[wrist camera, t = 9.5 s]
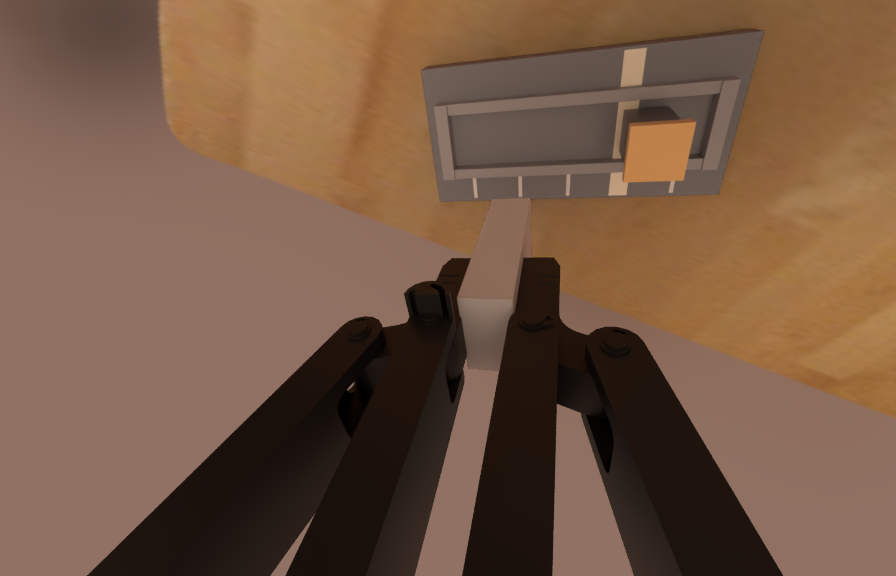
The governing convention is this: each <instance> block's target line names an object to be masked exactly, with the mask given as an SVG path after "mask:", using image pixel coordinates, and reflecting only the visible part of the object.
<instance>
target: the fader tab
mask: <svg viewBox="0 0 896 576" xmlns="http://www.w3.org/2000/svg"><path fill="white" fill-rule="evenodd" d="M695 126H696V121H695V120H694V119H681V118H680V117H679V116H678V115H677V114H676V113H675V112H674V111H673V110H672V109H671V108H670V107H669V106H666V107H653V108H640V109H627V110H624V114H623V122H622V130H621V139H620V147H619V152H620V155H621V158H622V161H623V163H624V167H623V174H622V180H623V183H626V182H656V181H683V180H684V176H685V171H686V167H687V162H688V158H689V153H690V149H691V144H692V140H693V135H694V131H695Z"/></svg>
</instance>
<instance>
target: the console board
mask: <svg viewBox="0 0 896 576" xmlns="http://www.w3.org/2000/svg"><path fill="white" fill-rule="evenodd" d="M763 34H764V31H763V30H757V29H745V30H736V31H728V32H719V33H711V34H702V35H693V36H685V37H676V38H668V39H659V40H650V41H642V42H633V43H625V44H616V45H608V46H599V47H590V48H582V49H573V50H565V51H556V52H547V53H539V54H530V55H522V56H513V57H505V58H496V59H487V60H479V61H470V62H462V63H453V64H444V65H436V66H428V67H426V68H424V69H422V70H421V74H422V81H423V88H424V95H425V102H426V109H427V116H428V123H429V130H430V137H431V144H432V151H433V158H434V164H435V171H436V178H437V185H438V192H439V199H440V202H447V201H487V200H492V199H515V198H530V199H567V198H607V197H646V196H686V195H719V191H720V188H721V184H722V180H723V177H724V173H725V170H726V166H727V163H728V159H729V155H730V152H731V148H732V145H733V141H734V137H735V134H736V130H737V127H738V123H739V120H740V116H741V112H742V109H743V105H744V102H745V98H746V94H747V91H748V87H749V84H750V80H751V77H752V73H753V69H754V66H755V62H756V59H757V55H758V51H759V48H760V44H761V41H762V37H763ZM666 106H669V107H670V108H671V109H672V110H673V111H674V112H675V113H676V114H677V115H678V116H679V117H680V118H681V119H694V120H695V121H696V126H695V131H694V135H693V140H692V144H691V149H690V153H689V158H688V162H687V167H686V171H685V176H684V180H683V181H656V182H626V183H623V180H622V174H623V167H624V163H623V161H622V158H621V155H620V152H619V147H620V139H621V130H622V122H623V114H624V110H627V109H640V108H653V107H666Z"/></svg>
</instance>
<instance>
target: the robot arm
mask: <svg viewBox="0 0 896 576" xmlns="http://www.w3.org/2000/svg"><path fill="white" fill-rule="evenodd" d="M559 293H560V265H559V264H558V263H557V261H556V260H555V259H554V258H532V246H531V201H530V198H515V199H492V201H491V204H490V207H489V210H488V213H487V215H486V218H485V221H484V224H483V227H482V229H481V232H480V235H479V238H478V240H477V243H476V246H475V249H474V252H473V254H472V257H471V258H452V259H451V260H450V261H448V262H447V263H446V264H445V265H443V267H442V269H441V271H440V274H439V277H438V278H437V280H436V281H426V282H421V283H418V284H415V285H414V286H412V287H410V288H409V289H408V290H407V291H406V292H405V293H404V296H405V300H406V304H407V308H408V312H409V316H410V317H409V319H408V321H407V322H406V323H404V324H400V325H395V326H389V327H384V328H383V327H382V324H381V323H380V321H379V320H378V319H376V318H374V317H366V316H365V317H359V318H355V319H353V320H351V321H348V322H347V323H346V324H344V325H343V326H342V327H340V329H338V330H337V331H336V333H334V334H333V335H332V336H331V337H330V338H329V339H328V340H327V341H326V342H325V343H324V344H323V345H322V346H321V347H320V348H319V349H318V350H317V351H316V352H315V353H314V354H313V355H312V356H311V357H310V358H309V359H308V360H307V361H306V362H305V363H304V364H303V365H302V366H301V367H300V368H299V369H298V370H297V371H296V372H295V373H294V374H293V375H291V377H289V378H288V379H287V380H286V381H285V382H284V383H283V384H282V385H281V386H280V387H279V388H278V389H277V390H276V391H275V392H274V393H273V394H272V395H271V396H270V397H269V398H268V399H267V400H266V401H265V402H264V403H263V404H262V405H261V406H260V407H259V408H258V409H257V410H256V411H255V412H254V413H253V414H252V415H251V416H250V417H249V418H248V419H247V420H246V421H244V423H243V424H241V425H240V426H239V428H237V429H236V430H235V431H234V432H233V433H232V434H231V435H230V436H229V437H228V438H227V439H226V440H225V441H224V442H223V443H222V444H221V445H220V446H219V447H218V448H217V449H216V450H215V451H214V452H213V453H212V454H211V455H210V456H209V457H208V458H207V459H206V460H205V461H204V462H203V463H202V464H201V465H200V466H199V467H198V468H197V469H196V470H194V471H193V473H192V474H190V475H189V476H188V477H187V478H186V479H185V480H184V481H183V482H182V483H181V484H180V485H179V486H178V487H177V488H176V489H175V490H174V491H173V492H172V493H171V494H170V495H169V496H168V497H167V498H166V499H165V500H164V501H163V502H162V503H161V504H160V505H159V506H158V507H157V508H156V509H155V510H154V511H153V512H152V513H151V514H150V515H149V516H148V517H147V518H145V519H144V521H142V523H140V524H139V525H138V526H137V527H136V528H135V529H134V530H133V531H132V532H131V533H130V534H129V535H128V536H127V537H126V538H125V539H124V540H123V541H122V542H121V543H120V544H119V545H118V546H117V547H116V548H115V549H114V550H113V551H112V552H111V553H110V554H109V555H108V556H107V557H106V558H105V559H104V560H103V561H102V562H101V563H100V564H99V565H98V566H97V567H95V568H94V569H93V571H92V572H91V573H89V574H88V575H87V576H270V575H271V574H272V572H273V571H274V570H275V568H276V567H277V565H278V564H279V563H280V561H281V560H282V558H283V557H284V556H285V554H286V553H287V552H288V550H289V549H290V547H291V546H292V544H293V543H294V542H295V540H296V539H297V538H298V536H299V535H300V533H301V532H302V531H303V529H304V528H305V526H306V525H307V524H308V522H309V521H310V520H311V518H312V517H313V515H314V514H315V515H314V517H313V519H312V522H311V524H310V526H309V528H308V530H307V532H306V534H305V536H304V538H303V540H302V543H301V544H300V546H299V549H298V551H297V553H296V555H295V557H294V559H293V561H292V563H291V565H290V568H289V570H288V572H287V574H286V576H415V572H416V568H417V564H418V560H419V556H420V552H421V549H422V544H423V541H424V537H425V533H426V529H427V525H428V521H429V517H430V514H431V510H432V506H433V502H434V498H435V494H436V490H437V486H438V483H439V479H440V475H441V471H442V467H443V463H444V459H445V456H446V451H447V448H448V444H449V440H450V436H451V432H452V428H453V424H454V420H455V417H456V413H457V409H458V405H459V401H460V397H461V393H462V390H463V386H464V371H463V367H464V363H465V359H467V366H468V369H479V370H491V371H499V375H498V381H497V386H496V392H495V398H494V403H493V408H492V414H491V419H490V425H489V431H488V436H487V442H486V447H485V453H484V458H483V464H482V470H481V475H480V480H479V486H478V492H477V497H476V502H475V508H474V513H473V519H472V525H471V530H470V536H469V541H468V547H467V553H466V558H465V563H464V569H463V574H462V576H552V566H553V529H554V489H555V452H556V413H557V404H560V405H562V406H565V407H567V408H570V409H572V410H575V411H577V412H580V413H581V416H582V419H583V423H584V426H585V429H586V432H587V435H588V438H589V441H590V444H591V447H592V450H593V452H594V456H595V459H596V462H597V465H598V468H599V471H600V474H601V477H602V480H603V483H604V486H605V489H606V492H607V495H608V498H609V501H610V504H611V507H612V510H613V513H614V516H615V519H616V523H617V525H618V529H619V532H620V534H621V538H622V540H623V543H624V547H625V550H626V553H627V556H628V559H629V561H630V565H631V567H632V571H633V574H634V576H783V575H782V573H781V571H780V569H779V568H778V566H777V564H776V563H775V561H774V559H773V558H772V556H771V555H770V553H769V551H768V549H767V548H766V546H765V544H764V543H763V541H762V539H761V538H760V536H759V534H758V533H757V531H756V529H755V528H754V526H753V524H752V523H751V521H750V519H749V517H748V516H747V514H746V513H745V511H744V509H743V508H742V506H741V504H740V503H739V501H738V499H737V497H736V496H735V494H734V492H733V491H732V489H731V487H730V486H729V484H728V482H727V481H726V479H725V478H724V476H723V474H722V472H721V471H720V469H719V467H718V466H717V464H716V462H715V461H714V459H713V458H712V455H711V454H710V452H709V450H708V449H707V447H706V445H705V444H704V442H703V440H702V439H701V437H700V435H699V434H698V432H697V430H696V429H695V427H694V425H693V424H692V422H691V420H690V419H689V417H688V415H687V413H686V412H685V410H684V408H683V407H682V405H681V403H680V402H679V400H678V398H677V397H676V395H675V393H674V392H673V390H672V388H671V387H670V385H669V383H668V382H667V380H666V379H665V377H664V375H663V373H662V372H661V370H660V368H659V367H658V365H657V363H656V361H655V360H654V359H653V356H652V355H651V353H650V351H649V350H648V348H647V346H646V345H645V343H644V342H643V340H642V339H641V338H640V337H639V336H638V335H637V334H635V333H633V332H631V331H629V330H626V329H623V328H619V327H603V328H600V329H596V330H595V331H593V332H592V333H590V334H589V335H585V334H582V333H579V332H576V331H573V330H572V329H570V328H568V327H567V326H566V325H565V324H564V323H563V322H562V321H561V319H560V316H559ZM353 382H354V385H353V387H352V388H351V389H349V390H348V391H347V389H348V388H349V387H350V385H351V384H352V383H353Z"/></svg>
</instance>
